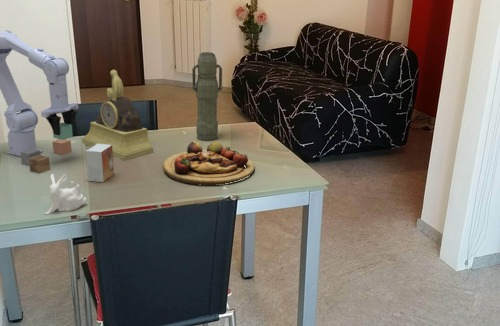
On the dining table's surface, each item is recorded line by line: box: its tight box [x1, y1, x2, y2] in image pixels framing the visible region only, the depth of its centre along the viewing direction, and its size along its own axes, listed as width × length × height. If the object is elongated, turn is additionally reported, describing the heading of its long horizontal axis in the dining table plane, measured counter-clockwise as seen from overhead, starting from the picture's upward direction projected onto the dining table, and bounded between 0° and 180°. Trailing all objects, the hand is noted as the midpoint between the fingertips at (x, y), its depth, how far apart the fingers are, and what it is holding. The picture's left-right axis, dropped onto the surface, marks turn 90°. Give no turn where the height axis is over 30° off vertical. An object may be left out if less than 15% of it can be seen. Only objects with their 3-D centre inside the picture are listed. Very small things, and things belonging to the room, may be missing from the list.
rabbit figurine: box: [44, 173, 88, 216], centre depth 145 cm, size 12×8×10 cm, turn 117°
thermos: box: [191, 51, 223, 142], centre depth 206 cm, size 9×12×35 cm
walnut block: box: [29, 154, 51, 174], centre depth 172 cm, size 4×4×4 cm
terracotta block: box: [52, 139, 73, 156], centre depth 189 cm, size 4×4×4 cm
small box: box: [85, 144, 115, 183], centre depth 166 cm, size 8×6×10 cm
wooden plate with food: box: [162, 140, 255, 186], centre depth 177 cm, size 32×32×8 cm
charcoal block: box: [20, 148, 41, 167], centre depth 178 cm, size 4×4×4 cm
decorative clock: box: [81, 69, 154, 161], centre depth 192 cm, size 28×13×30 cm, turn 49°
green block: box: [52, 122, 74, 140], centre depth 178 cm, size 4×4×4 cm
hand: (62, 132), depth 178 cm, fingers closed on green block, 4 cm apart
